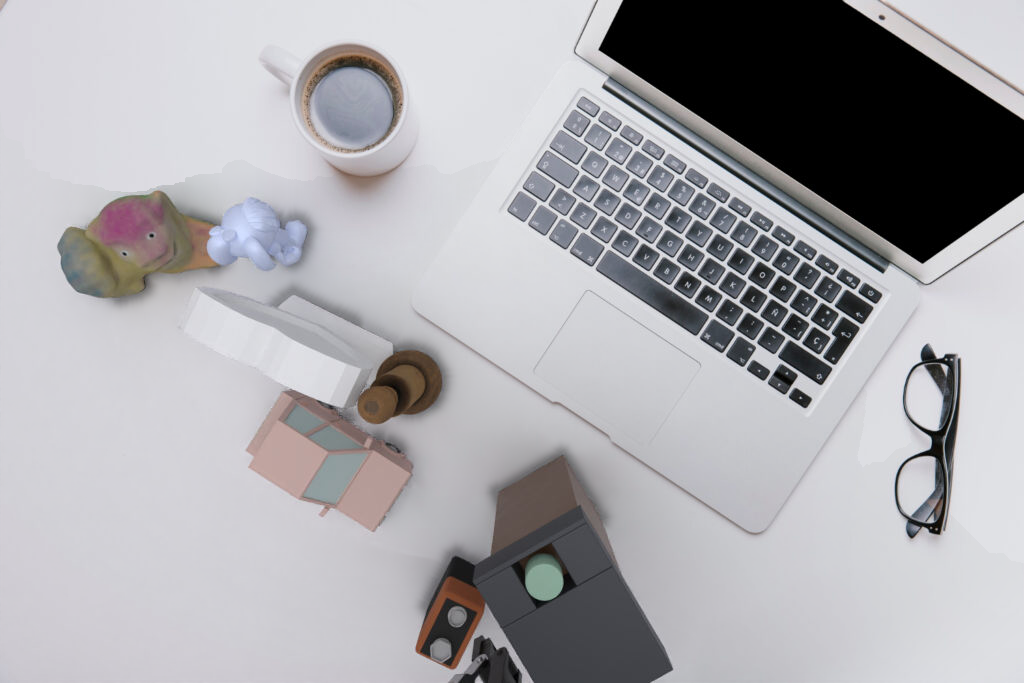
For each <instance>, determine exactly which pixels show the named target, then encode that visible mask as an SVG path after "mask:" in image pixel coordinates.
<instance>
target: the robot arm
mask: <svg viewBox="0 0 1024 683" xmlns="http://www.w3.org/2000/svg"><path fill="white" fill-rule="evenodd" d="M471 652H472V653H471V663H470V665H469V666H468V667H467V668H466V670H465V671H464V672H463V673H456V674H454V675H453V676H452V677H451V678H450V680H449V681H448V682H447V683H476V680H477V678H478V677H479V678H480V680H481V682H482V683H523V673H522V672H521V670H520V669H519V667H518V666H517V664H516V663H515V661H514V660H513V658H512V656H511V654H510V652H509V650H508V649H507V647H506V646H501V647H499V648H497V647H496V646H495V644H494V642H493V640H492V639H491V637H487V638H486V637H485V636H484V635H483V634H480V635H478V636H477V637H475V638H474V639H473V644H472V651H471Z"/></svg>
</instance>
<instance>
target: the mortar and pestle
mask: <svg viewBox="0 0 1024 683" xmlns="http://www.w3.org/2000/svg"><path fill="white" fill-rule="evenodd" d="M441 372H442V371H441V369H440V367H439V366H438V364H437V363H436V361H435V360H434V359H433V358H432V357H431V356H429V355H428V354H426V353H424V352H422V351H420V350H416V349H415V350H414V349H406V350H400V351H397V352H395V353H393V355H391V356H390V357H388V358H387V359H386V360H385V361H384V362H383V363H382V364H381V365H380V367H379V369H378V371H377V374H376V379H375V380H374V381H373V383H372V384H371V386H370V385H369V387H367V388H366V389H364V390H362V392H361V394H360V396H359V399H358V401H357V402H356V408H357V412H358V414H359V416H360V417H361V419H362V420H363V421H365V422H366V423H368V424H372V425H381V424H384V423H387V421H389V420H390V419H392V418H396V417H400V416H402V415H407V416H409V415H416V414H421V413H423V412H424V411H426V410H428V409H429V408H430V407H432V405H433V404H434V403H435V402H436V401H437V400H438V398H439V396H440V394H441V391H442V388H443V376H442V373H441Z"/></svg>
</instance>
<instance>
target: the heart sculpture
mask: <svg viewBox="0 0 1024 683" xmlns="http://www.w3.org/2000/svg"><path fill="white" fill-rule="evenodd" d="M177 327H178V328H179V329H180V330H181V332H183V333H184V334H185V335H188V336H189V337H190V338H192V339H193V340H195V341H197V342H198V343H200V344H202V345H203V346H205V347H207V348H209V349H211V350H212V351H214V352H216V353H218V354H220V355H222V356H224V357H226V358H228V359H231V360H234V361H236V362H238V363H241V364H245V365H247V366H250V367H253V368H256V369H257V370H258V371H260V372H261V373H262V374H263V375H265V377H268V378H270V379H271V380H272V381H274V382H276V383H278V384H281V385H283V386H285V387H286V388H288V389H290V390H295V391H298V392H300V393H302V394H305V395H307V396H309V397H310V398H314V399H317V400H320V401H322V402H325V403H327V404H330V405H331V406H335V407H338V408H342V409H345V408H346V409H347V408H353V407H355V405H357V402H358V399H359V396H360V395H361V394H362V392H363V391H364V388H365V386H366V385H368V386H369V387H370V386H371V384H372V383H373V381H374V380H375V379H376V374H377V371H378V369H379V367H380V365H381V364H382V363H383V362H384V361H385V360H386V359H387V358H388V357H390V356H391V355H393V354H394V344H393V342H391V341H389V340H387V339H385V338H383V337H381V336H379V335H377V334H374V333H372V332H371V331H369V330H366V329H364V328H363V327H360V326H358V325H356V324H354V323H352V322H350V321H349V320H346V319H344V318H342V317H341V316H339V315H336V314H334V313H332V312H330V311H328V310H326V309H324V308H322V307H320V306H317V305H316V304H314V303H311V302H309V301H308V300H306V299H304V298H302V297H299V296H298V295H296V294H292V295H290V296H289V297H287V298H286V299H285V300H284V301H283V302H281V304H279V306H273V305H271V304H268V303H266V302H262V301H261V300H257V299H254V298H252V297H248V296H245V295H243V294H239V293H236V292H232V291H229V290H226V289H222V288H215V287H211V286H196V287H195V288H194V290H193V293H192V295H191V297H190V299H189V300H188V303H187V306H186V308H185V310H184V312H183V315H182V316H181V319H180V321H179V323H178V325H177Z"/></svg>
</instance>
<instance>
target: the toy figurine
mask: <svg viewBox="0 0 1024 683" xmlns="http://www.w3.org/2000/svg"><path fill="white" fill-rule="evenodd" d="M221 217H222V219H221V223H220V225H216V226H215V227H213V228H212V229H211V230H210V231H209V235H210V236H212V237H211V238H210V239H209V240H208V242H207V252H208V254H209V256H210V257H211V258H212V260H214V261H215V262H216V263H218V264H220V265H221V266H229V265H232V264H234V263H235V262H237V261H238V259H239V258H243V259H249V260H250V261H251V263H252V264H253V265H254V267H256V269H258V270H259V271H262V272H270V271H272V270H274V269H275V268H276V266H277V264H276V263H275V262H274V259H272V257H271V256H273V257H274V258H275V260H277V261H278V262H279V263H280V264H281V265H283V266H287V267H288V266H292V265H294V264H296V263H297V262H298V261H299V260H300V259H301V258H302V254H303V250H302V248H303V246H304V243H305V242H306V236H307V233H308V227H307V225H306V224H305V223H303V221H302V220H300V219H295V220H289V221H287V222H286V224H285V227H284V229H283V228H281V221H280V220H279V219H278V214H277V212H276V211H275V209H274V207H273V206H271V205H269V204H268V203H267V202H265V201H263V200H261V199H259V198H255V197H252V196H248V197H247V198H246V199H245V200H244V201H243V202H242V203H238V204H235V205H232V206H231V207H229V208H227V210H226V211H225V212H224V214H223V215H221ZM220 265H219V266H220Z"/></svg>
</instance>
